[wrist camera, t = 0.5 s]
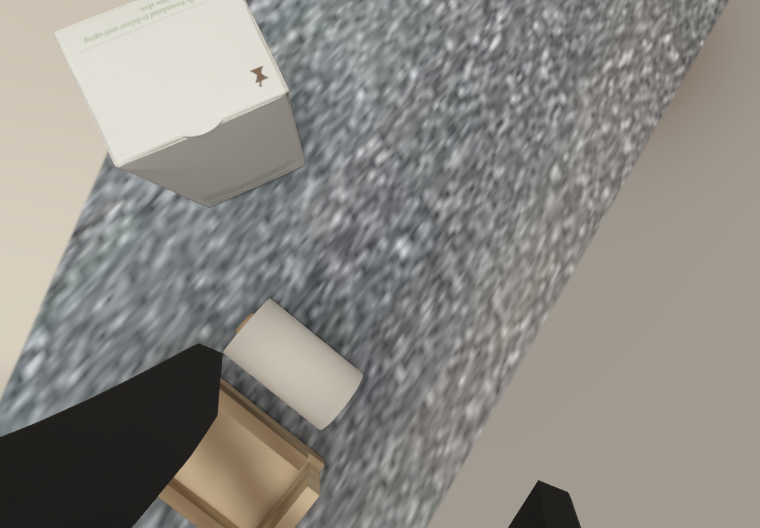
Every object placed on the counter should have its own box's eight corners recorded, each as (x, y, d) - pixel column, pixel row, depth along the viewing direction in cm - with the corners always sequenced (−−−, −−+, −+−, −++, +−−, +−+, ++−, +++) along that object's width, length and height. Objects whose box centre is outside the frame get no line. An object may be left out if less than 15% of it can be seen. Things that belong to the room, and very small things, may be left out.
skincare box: (273, 90, 36) (234, -48, 21) (310, 171, 36) (298, 92, 21) (166, 133, 35) (43, 22, 20) (205, 216, 35) (112, 169, 20)
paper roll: (363, 369, 37) (368, 384, 32) (322, 420, 36) (321, 442, 31) (270, 294, 36) (262, 296, 31) (227, 344, 35) (212, 355, 31)
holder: (253, 548, 35) (242, 592, 30) (110, 438, 34) (74, 465, 29) (324, 459, 36) (324, 489, 31) (186, 350, 35) (163, 362, 30)
